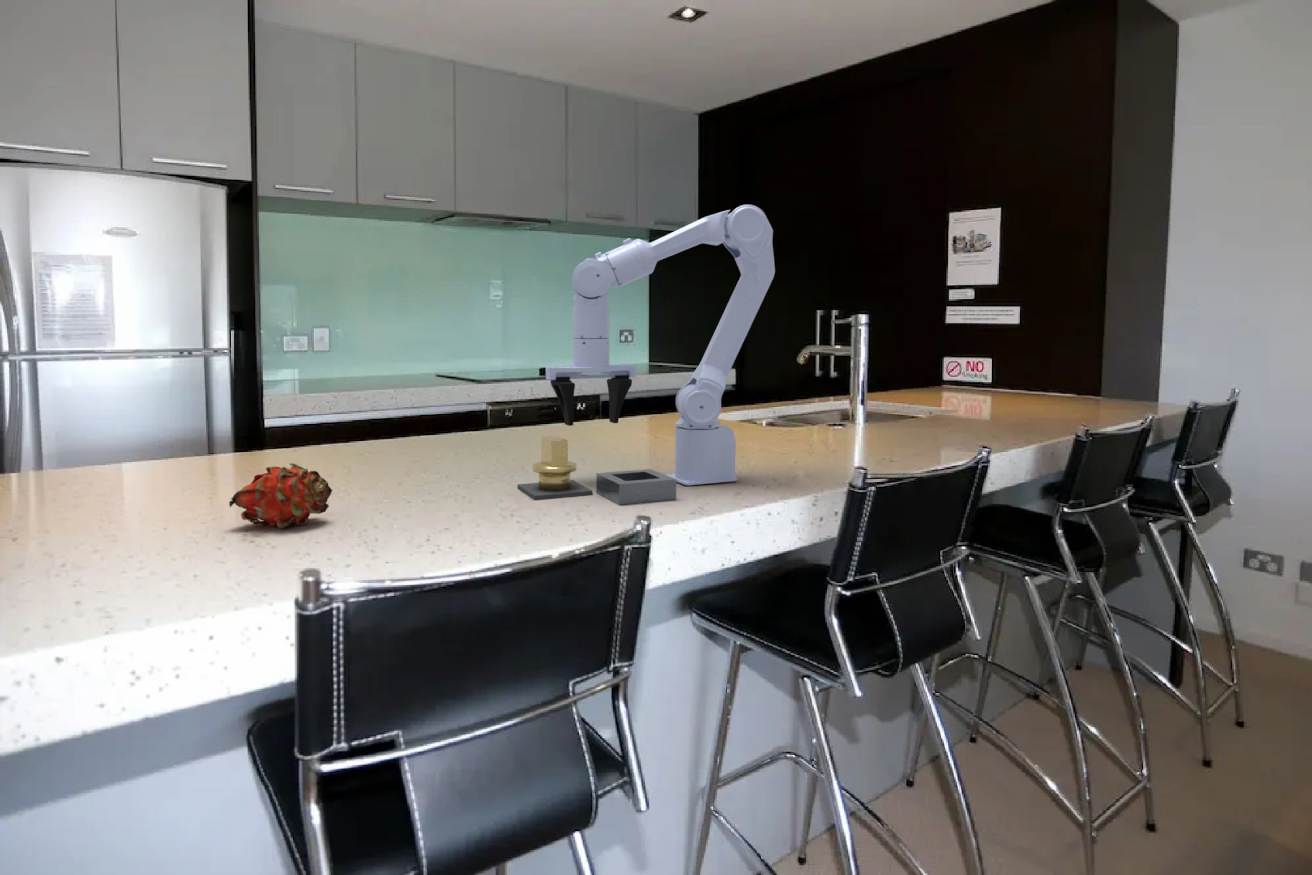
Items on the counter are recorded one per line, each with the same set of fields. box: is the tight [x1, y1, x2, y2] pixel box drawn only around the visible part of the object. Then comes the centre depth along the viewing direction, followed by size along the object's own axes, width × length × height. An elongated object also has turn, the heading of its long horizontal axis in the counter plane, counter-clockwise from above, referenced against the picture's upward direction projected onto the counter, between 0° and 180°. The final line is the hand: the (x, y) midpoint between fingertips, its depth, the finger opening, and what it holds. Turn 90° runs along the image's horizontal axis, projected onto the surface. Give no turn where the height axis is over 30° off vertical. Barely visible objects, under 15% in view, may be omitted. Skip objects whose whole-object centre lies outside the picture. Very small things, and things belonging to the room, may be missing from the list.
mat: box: [517, 479, 594, 501], centre depth 129 cm, size 9×9×1 cm
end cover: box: [532, 435, 577, 491], centre depth 128 cm, size 7×7×8 cm
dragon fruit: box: [228, 462, 333, 530], centre depth 107 cm, size 8×8×12 cm
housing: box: [595, 468, 677, 506], centre depth 125 cm, size 9×9×3 cm
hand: (591, 423), depth 135 cm, fingers open, 7 cm apart
